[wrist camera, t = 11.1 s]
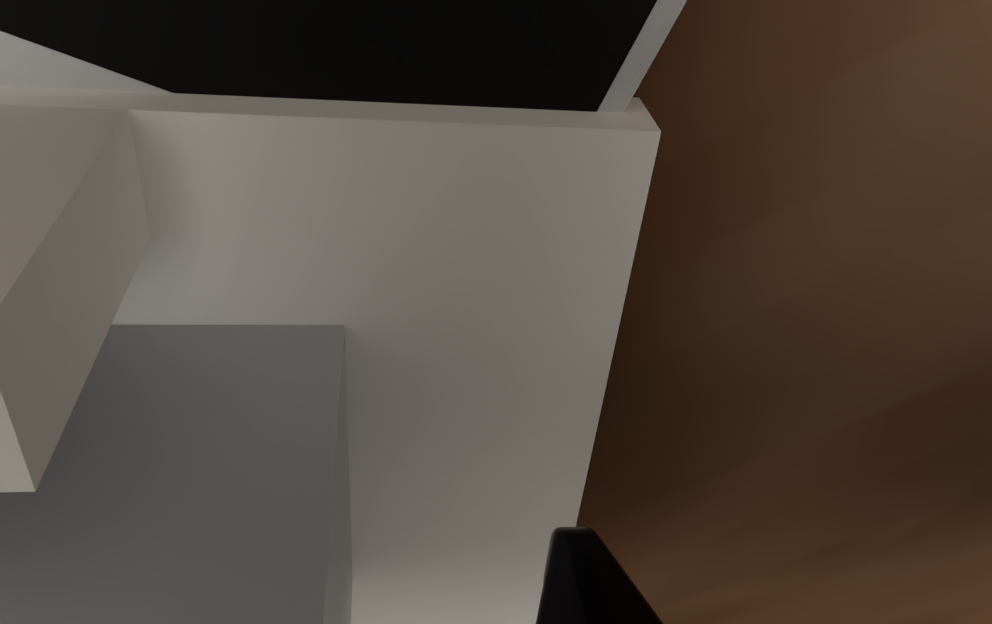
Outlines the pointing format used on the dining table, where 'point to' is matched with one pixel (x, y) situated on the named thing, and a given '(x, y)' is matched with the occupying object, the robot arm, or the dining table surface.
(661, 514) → the dining table surface
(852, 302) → the dining table surface
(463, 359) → the port
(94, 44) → the smartphone
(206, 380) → the plug
